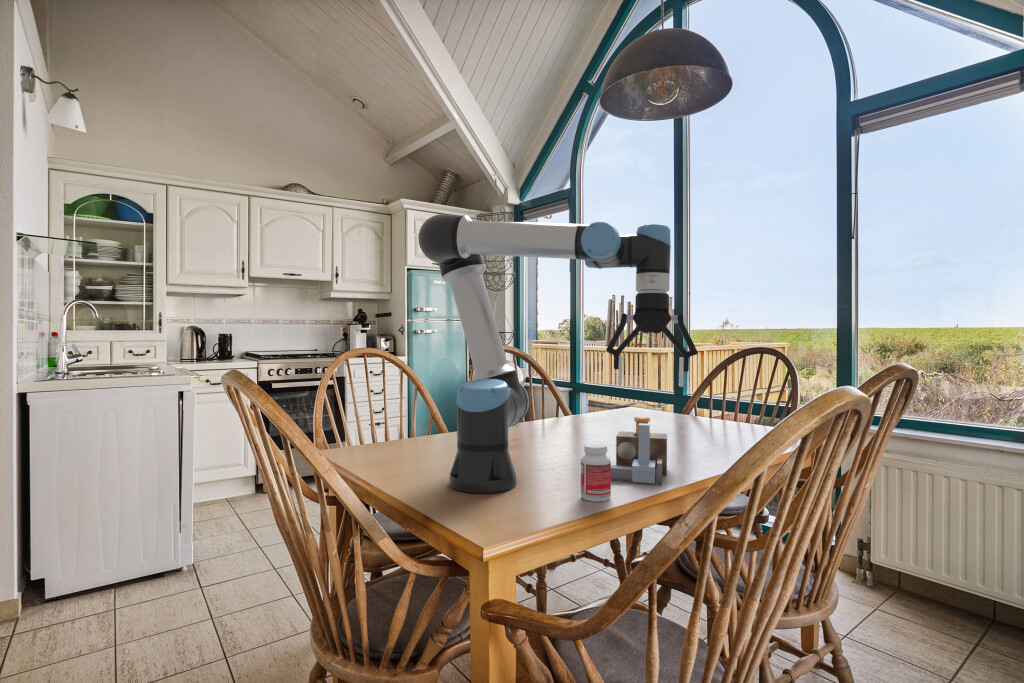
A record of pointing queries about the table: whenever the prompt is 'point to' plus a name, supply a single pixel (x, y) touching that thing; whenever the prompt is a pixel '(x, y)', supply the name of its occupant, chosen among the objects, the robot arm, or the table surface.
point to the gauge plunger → (640, 420)
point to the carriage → (643, 458)
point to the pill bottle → (595, 473)
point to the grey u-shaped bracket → (626, 473)
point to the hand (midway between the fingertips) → (650, 385)
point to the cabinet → (629, 449)
